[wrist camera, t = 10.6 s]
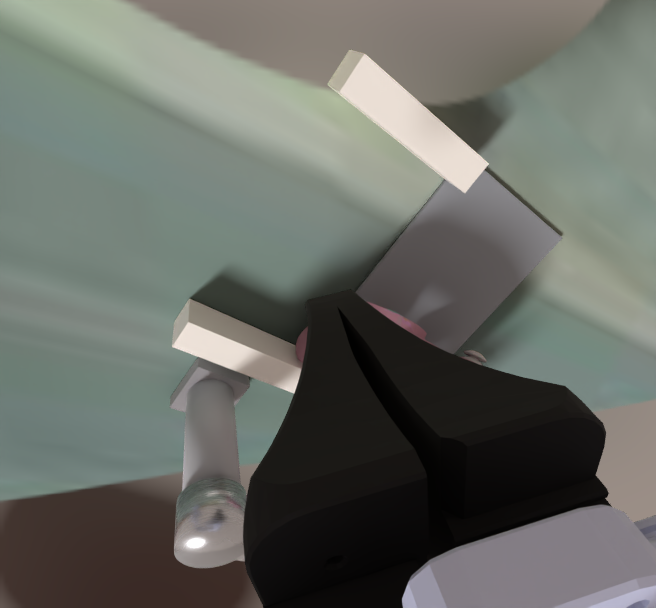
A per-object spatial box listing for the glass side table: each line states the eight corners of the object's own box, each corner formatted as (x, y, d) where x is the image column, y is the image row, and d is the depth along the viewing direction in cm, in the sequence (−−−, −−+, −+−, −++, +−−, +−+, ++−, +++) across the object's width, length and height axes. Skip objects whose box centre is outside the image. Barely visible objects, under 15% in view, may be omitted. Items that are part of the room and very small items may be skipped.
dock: (133, 384, 24) (113, 496, 18) (349, 49, 18) (414, 66, 12) (251, 423, 27) (263, 527, 22) (466, 151, 21) (558, 201, 16)
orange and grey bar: (165, 515, 19) (161, 563, 17) (194, 471, 18) (194, 518, 16) (399, 552, 25) (413, 590, 23) (431, 520, 24) (448, 558, 22)
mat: (314, 343, 25) (315, 345, 25) (465, 153, 21) (466, 154, 21) (417, 390, 29) (418, 391, 28) (560, 236, 25) (562, 237, 25)
